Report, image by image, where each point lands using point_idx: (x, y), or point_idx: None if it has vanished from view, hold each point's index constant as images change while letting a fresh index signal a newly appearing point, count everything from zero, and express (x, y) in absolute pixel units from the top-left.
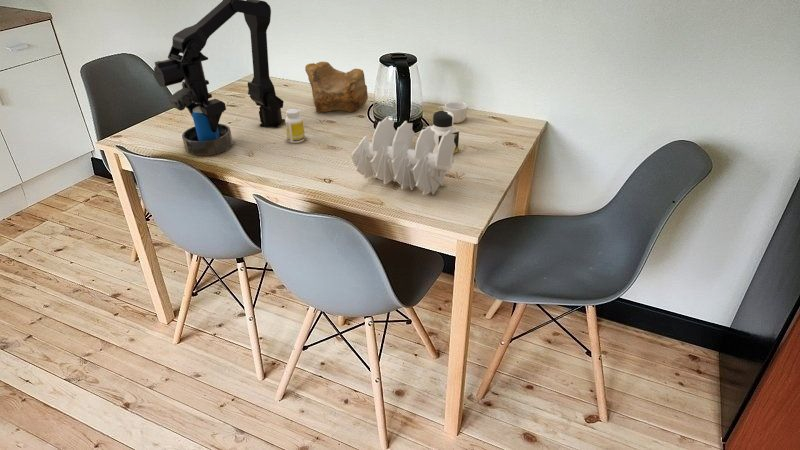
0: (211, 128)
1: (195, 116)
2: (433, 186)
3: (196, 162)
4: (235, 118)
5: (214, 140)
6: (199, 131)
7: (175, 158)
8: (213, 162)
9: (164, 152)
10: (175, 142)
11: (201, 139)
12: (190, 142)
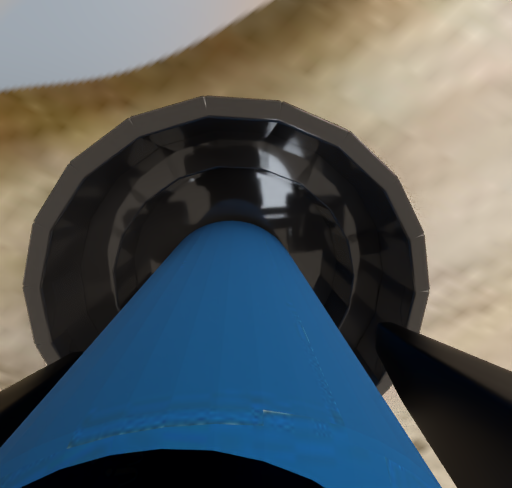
0: (33, 380)
1: (74, 441)
2: None
3: (82, 107)
4: (438, 478)
5: (26, 294)
6: (176, 262)
7: (238, 29)
8: (15, 187)
9: (382, 20)
10: (453, 154)
11: (194, 239)
12: (141, 116)
